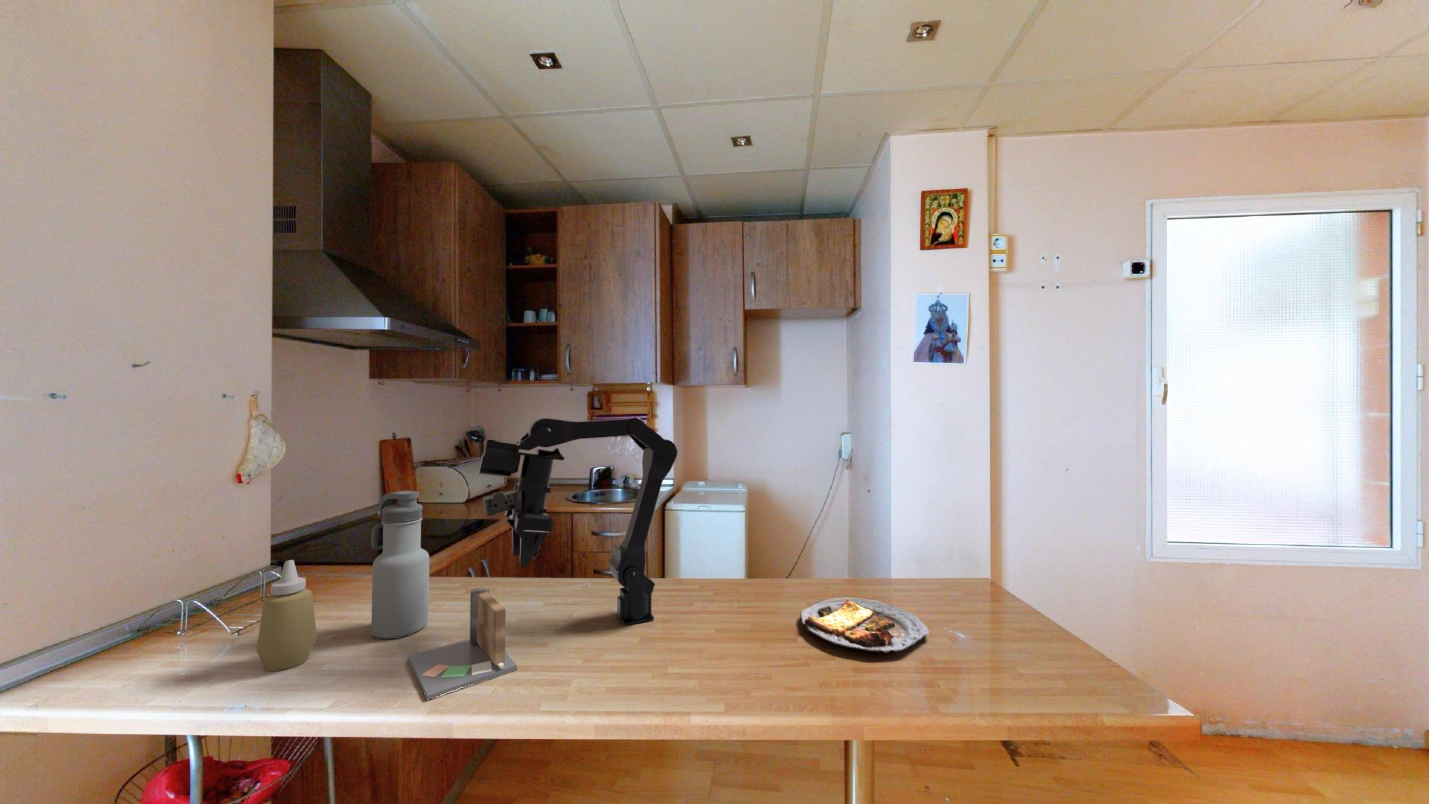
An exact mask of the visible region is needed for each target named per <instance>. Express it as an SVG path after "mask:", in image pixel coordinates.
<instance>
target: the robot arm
mask: <svg viewBox="0 0 1429 804" xmlns="http://www.w3.org/2000/svg"><path fill="white" fill-rule="evenodd" d="M527 428H528V429H527V432H526V433H525V434H524V435H523V436H522V437H520V438H519V439H518V441H516V442H515V443H514V442H513V443H512V442H506V441H499V440H496V439H493V438H487V439H486V443H485V447H484V451H483V454H482V455H481V460H480V463H479V464H480V465H479V471H478V475H487V476H493V477H494V476H495V477H501V478H502V477H503V478H511V476H512V474H515V473H518V471H519V467H520V463H521V457H522V456H523V458H522V464H521V468H520V469H521V470H520V475H519V480H518V482H516V484H514V485H513V486H514V488H513V490H509V491H504V492H503V491H499V492H494V493H493V494H491V495H487V496H484V497H482V502H483V506H484V507H483V508H484V511H485V515H486V516H487V517H490V516H495V515H497V514H500V513H503V512H504V516H505V518H504V519H505V520H506V521H507V524H509V525H510V527H511V534H512V535H511V536H512V538H511V540H512V541H511V542H512V555H513V557H518V556H519V566H520V568H521V567H522V568H526V567H527V566H528V564H530V561H531V560H532V558H533V557H534V556H535V554H536V553H537V551H538V550H539V548H540V547H541V545H542V543H543V542H544V540H545V539H546V538H547V536H549V534H550V532H552V531H553V526H554V523H555V522H554V520H553V518H552V517H551V515H549V514H548V513H547V511H548V509H547V508H546V503H547V497H548V494H550V493H551V490H552V488H551V487H550V482H551V476H552V471H553V465H554V460H556V461H564V460H565V457H564V456H563V454H562V453H561V451H560V450H559V448H558V447H555V446H560V445H562V444H566V443H570V442H572V441H577V440H583V439H594V438H595V439H596V438H598V439H599V438H611V437H613V438H614V437H625V436H628V437H630V439H631V440H632V441H633V442H634V443H635V444H636V445H637V446H638V447H639V448H640V449H641V450H642V451H643V453H642V460H641V461H642V462H641V465H642V478H641V481H640V484H639V488H638V492H637V495H636V499H635V502H634V507H633V510H632V513H631V516H630V520H629V524H628V526H627V529H626V530H627V531H626V533H625V536H624V539H623V540H622V542H621V544H620V545H618V544H613V546H612V551H611V555H610V558H609V559H608V560H607V562H608V563H609V569H610V572H611V575H612V576H613V577H614V578H615V580H616V581H617V582H618V583H619V585H621V588H619V595H618V596H617V598H616V599H617V600H616V602H617V603H616V604H617V606H616V607H617V609H616V611H617V612H616V614H617V615H616V616H617V617H618V618H619V619H620V621H621V622H622V623H623V625H624V626H629V625H635V624H639V623H644V622H649V621H654V620H655V616H654V615H653V614H652V593H653V592H654V588H655V585H656V584H655V582H654V581H653V580H652V579H651V578H650V577H648V575H646V574H645V569H646V542H647V538H648V536H649V531H650V527H651V524H652V521H653V516H654V513H655V508H656V505H657V503H658V499H659V495H660V491H661V488H662V483H663V481H664V480H665V478H666V477H667V476H668V474H669V473H670V472H671V470H672V468H673V466H674V463H675V462H676V459H677V456H678V448H677V446H676V445H675V444H676V443H674V442H673V441H671V440H670V439H665V438H664V437H662V435H660V434H658V433H657V432H656V431H655V430H653V429H652V428H651V427H649V426H648V425H647V424H646V423H645V422H644V421H643V420H642V419H641V418H639V417H635V416H634V417H633V416H630V417H629V416H628V417H626V418H616V419H615V418H614V419H613V418H612V419H596V420H595V419H594V420H581V421H580V420H579V421H574V420H573V421H572V420H564V419H555V418H548V417H547V418H545V417H539V418H536V419H534V420H533V421H532V422H531V423H530V424H529V426H528V427H527ZM538 447H541V448H551V447H555V448H554V449H552V450H547V449H541V448H538ZM537 448H538V449H537ZM534 449H536V450H535V453H528V452H521V451H520V450H522V451H532V450H534Z"/></svg>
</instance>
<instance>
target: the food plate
mask: <svg viewBox="0 0 1429 804" xmlns="http://www.w3.org/2000/svg"><path fill="white" fill-rule="evenodd" d="M873 616H874V617H873ZM799 618H800V622H801V625H802V626H803V627H804V628H805V629H806V630H807V631H808V632H810V633H812V634H813V635H816V636H817V637H819V638H820V639H823V640H826V641H827V642H829V643H830V644H834V645H837V646H840V647H845V648H847V649H848V648H849V649H855V650H862V651H864V652H870V653H871V652H874V653H876V652H878V653H879V655H881V653H884V654H887V653H889V652H890V651H893V653H898V652H900V651H903V650H905V649H907V648H908V647H911V646H913V645H914V644H916V643H917V642H918V641H920V640H922V639H923V638H924V637H925V636H928V635H929V628H928V627H927V626H926V624H925V623H923V621H922V620H920V619H919V618H918V617H917V616H916V615H914V614H913V613H911V612H909V611H906V610H905V609H904V608H900V607H898V606H896V605H892V604H889V603H885V602H881V601H878V600H872V599H865V598H862V597H861V598H860V597H859V598H858V597H837V598H835V597H834V598H823V599H820V600H817V601H816V602H814V603H812V604H810V605H808V606H807V607H805V608H803V609H802V610H801V611H800V614H799ZM868 620H870V621H868ZM863 623H867V625H866V624H863ZM858 626H860V627H858ZM861 626H865V627H861ZM896 626H897V627H898V628H897V629H898V630H900V629H901V633H900V631H898V632H897V630H896V631H895V630H894V631H893V629H892V628H896ZM862 629H865V630H862ZM899 635H901V636H900V637H898V638H897V637H896V636H899Z"/></svg>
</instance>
